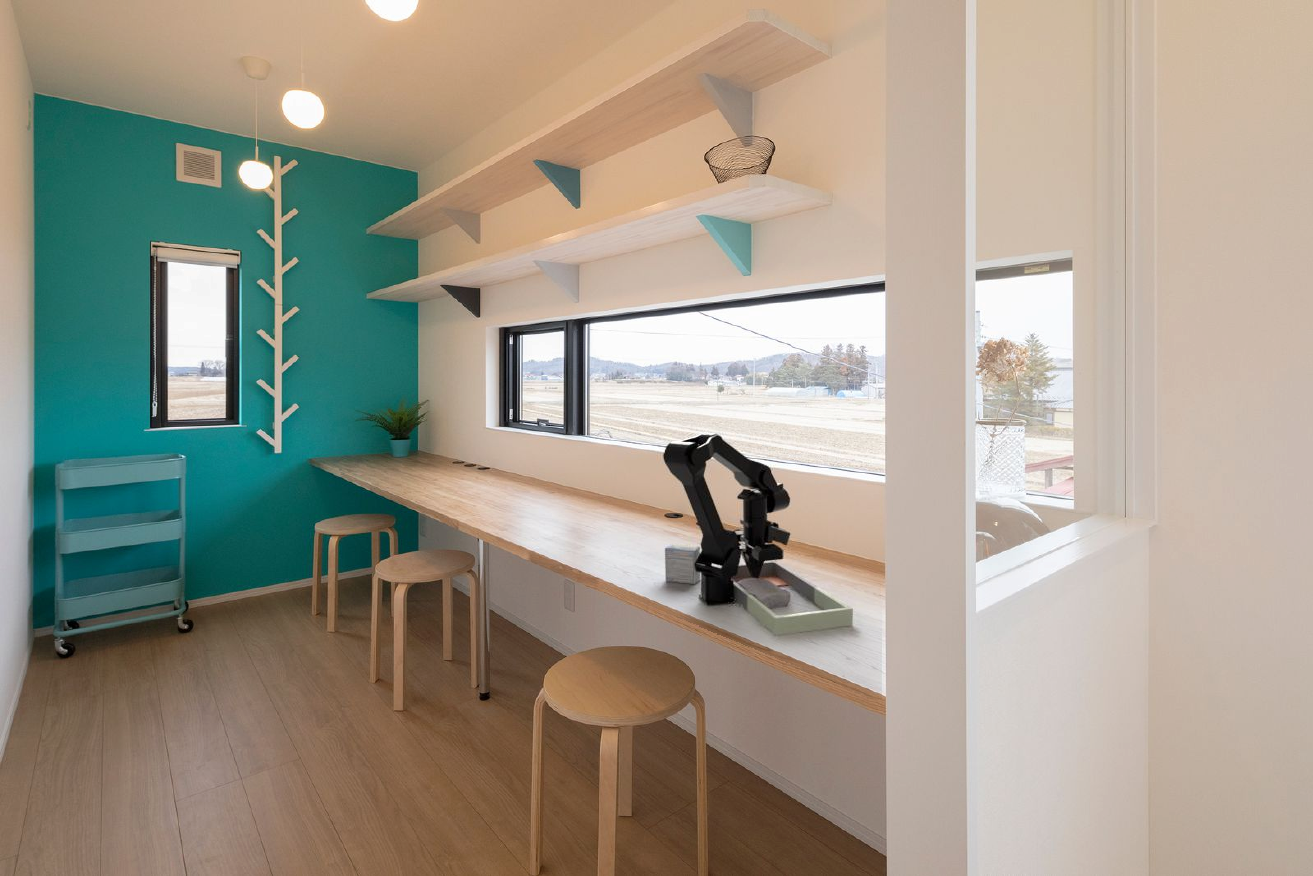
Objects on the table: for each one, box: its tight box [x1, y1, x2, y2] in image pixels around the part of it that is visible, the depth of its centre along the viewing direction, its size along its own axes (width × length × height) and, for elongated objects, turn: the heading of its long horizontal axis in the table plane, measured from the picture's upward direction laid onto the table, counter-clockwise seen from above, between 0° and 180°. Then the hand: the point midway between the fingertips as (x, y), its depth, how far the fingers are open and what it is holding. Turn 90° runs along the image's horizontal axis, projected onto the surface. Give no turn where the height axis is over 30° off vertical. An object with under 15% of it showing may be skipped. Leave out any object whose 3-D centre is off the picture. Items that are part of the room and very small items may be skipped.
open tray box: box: [717, 560, 854, 636], centre depth 148 cm, size 17×36×4 cm, turn 15°
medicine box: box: [664, 543, 701, 585], centre depth 164 cm, size 8×4×9 cm, turn 68°
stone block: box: [737, 578, 791, 610], centre depth 149 cm, size 12×5×10 cm
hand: (755, 579), depth 159 cm, fingers closed
